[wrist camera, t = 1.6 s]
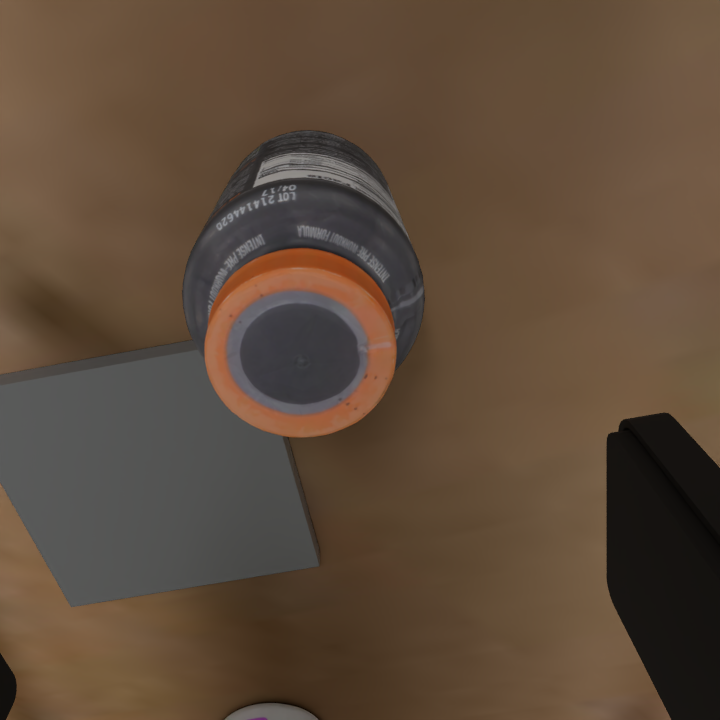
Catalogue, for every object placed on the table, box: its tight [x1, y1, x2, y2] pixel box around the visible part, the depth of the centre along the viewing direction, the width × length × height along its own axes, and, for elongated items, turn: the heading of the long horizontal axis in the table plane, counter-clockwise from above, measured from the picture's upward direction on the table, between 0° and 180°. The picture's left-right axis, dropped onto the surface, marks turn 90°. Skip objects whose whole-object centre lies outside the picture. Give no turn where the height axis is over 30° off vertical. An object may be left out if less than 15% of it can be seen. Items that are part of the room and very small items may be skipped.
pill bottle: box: [182, 130, 425, 438], centre depth 18 cm, size 6×6×11 cm
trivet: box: [0, 340, 320, 607], centre depth 28 cm, size 12×12×1 cm
